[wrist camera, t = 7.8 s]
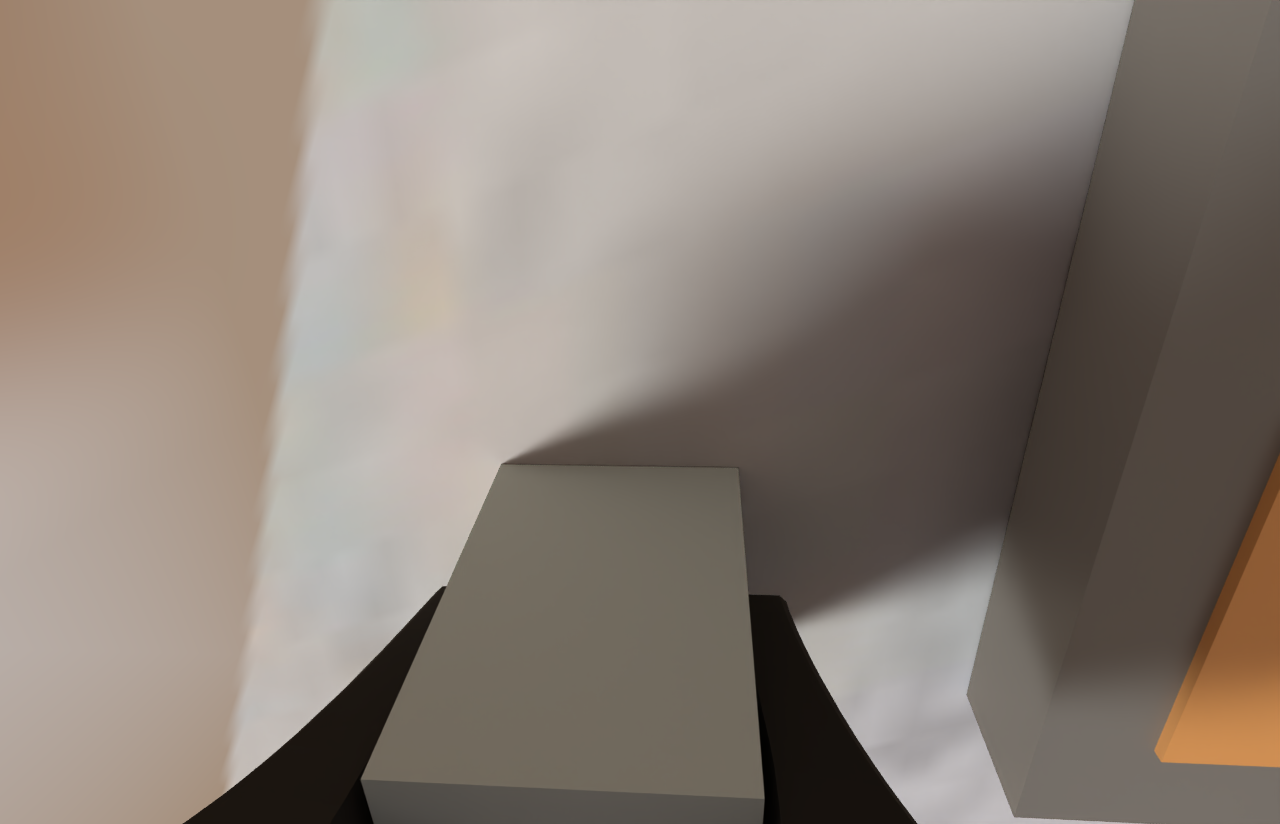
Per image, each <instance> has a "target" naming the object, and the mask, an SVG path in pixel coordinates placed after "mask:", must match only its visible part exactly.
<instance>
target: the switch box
mask: <svg viewBox="0 0 1280 824" xmlns="http://www.w3.org/2000/svg"><path fill="white" fill-rule="evenodd" d="M967 697H968V700H969V702H970V705H971V707H972V710H973V713H974V715H975V718H976V720H977V723H978V725H979V728H980V731H981V733H982V736H983V738H984V741H985V743H986V746H987V749H988V751H989V754H990V756H991V759H992V761H993V764H994V767H995V769H996V772H997V774H998V777H999V779H1000V782H1001V785H1002V787H1003V790H1004V792H1005V795H1006V798H1007V800H1008V803H1009V805H1010V808H1011V810H1012V813H1013V816H1014V817H1022V818H1042V819H1063V820H1084V821H1104V822H1125V823H1145V824H1280V0H1134V5H1133V9H1132V13H1131V17H1130V21H1129V25H1128V29H1127V34H1126V38H1125V42H1124V46H1123V50H1122V54H1121V58H1120V62H1119V67H1118V71H1117V75H1116V79H1115V83H1114V87H1113V91H1112V96H1111V100H1110V104H1109V108H1108V112H1107V116H1106V120H1105V125H1104V129H1103V133H1102V137H1101V141H1100V145H1099V149H1098V153H1097V158H1096V162H1095V166H1094V170H1093V174H1092V178H1091V182H1090V187H1089V191H1088V195H1087V199H1086V203H1085V207H1084V211H1083V216H1082V220H1081V224H1080V228H1079V232H1078V236H1077V240H1076V244H1075V249H1074V253H1073V257H1072V261H1071V265H1070V269H1069V273H1068V278H1067V282H1066V286H1065V290H1064V294H1063V298H1062V302H1061V307H1060V311H1059V315H1058V319H1057V323H1056V327H1055V331H1054V336H1053V340H1052V344H1051V348H1050V352H1049V356H1048V360H1047V364H1046V369H1045V373H1044V377H1043V381H1042V385H1041V389H1040V393H1039V398H1038V402H1037V406H1036V410H1035V414H1034V418H1033V422H1032V427H1031V431H1030V435H1029V439H1028V443H1027V447H1026V451H1025V455H1024V460H1023V464H1022V468H1021V472H1020V476H1019V480H1018V484H1017V489H1016V493H1015V497H1014V501H1013V505H1012V509H1011V513H1010V518H1009V522H1008V526H1007V530H1006V534H1005V538H1004V542H1003V546H1002V551H1001V555H1000V559H999V563H998V567H997V571H996V575H995V580H994V584H993V588H992V592H991V596H990V600H989V604H988V609H987V613H986V617H985V621H984V625H983V629H982V633H981V638H980V642H979V646H978V650H977V654H976V658H975V662H974V666H973V671H972V675H971V679H970V683H969V687H968V691H967Z"/></svg>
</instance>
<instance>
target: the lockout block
mask: <svg viewBox="0 0 1280 824" xmlns="http://www.w3.org/2000/svg"><path fill="white" fill-rule="evenodd" d="M361 783H362V786H363V789H364V793H365V796H366V799H367V803H368V806H369V809H370V813H371V816H372V819H373V823H374V824H763V813H764V800H765V798H764V785H763V773H762V760H761V747H760V735H759V722H758V710H757V697H756V685H755V672H754V659H753V647H752V634H751V622H750V609H749V597H748V584H747V571H746V559H745V546H744V534H743V521H742V509H741V496H740V483H739V471H738V468H718V467H650V466H583V465H515V464H501V466H500V468H499V470H498V472H497V475H496V477H495V479H494V481H493V484H492V486H491V488H490V490H489V493H488V495H487V497H486V499H485V502H484V504H483V506H482V508H481V511H480V513H479V515H478V517H477V520H476V522H475V524H474V526H473V528H472V531H471V533H470V535H469V537H468V540H467V542H466V544H465V546H464V549H463V551H462V553H461V555H460V558H459V560H458V562H457V564H456V567H455V569H454V571H453V573H452V576H451V578H450V580H449V582H448V585H447V587H446V589H445V591H444V594H443V596H442V598H441V600H440V602H439V605H438V607H437V609H436V611H435V614H434V616H433V618H432V620H431V623H430V625H429V627H428V629H427V632H426V634H425V636H424V638H423V641H422V643H421V645H420V647H419V650H418V652H417V654H416V656H415V659H414V661H413V663H412V665H411V668H410V670H409V672H408V674H407V676H406V679H405V681H404V683H403V685H402V688H401V690H400V692H399V694H398V697H397V699H396V701H395V703H394V706H393V708H392V710H391V712H390V715H389V717H388V719H387V721H386V724H385V726H384V728H383V730H382V733H381V735H380V737H379V739H378V742H377V744H376V746H375V748H374V750H373V753H372V755H371V757H370V759H369V762H368V764H367V766H366V768H365V771H364V773H363V775H362V777H361Z"/></svg>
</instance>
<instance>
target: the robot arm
mask: <svg viewBox="0 0 1280 824" xmlns="http://www.w3.org/2000/svg"><path fill="white" fill-rule="evenodd" d="M446 587H447V586H443V587H441V588H440V589H439V590H438V591H437V592H436V593H435V594H434V595H433V596H432V597H431V598H430V600H429V601H428V602H427V603H426V604H425V605H424V606H423V607H422V608H421V609H420V610H419V611H418V612H417V614H416V615H415V616H414V617H413V618H412V619H411V620H410V621H409V622H408V623H407V624H406V625H405V627H404V628H403V629H402V630H401V631H400V632H399V633H398V634H397V635H396V636H395V637H394V638H393V639H392V640H391V642H390V643H389V644H388V645H387V646H386V647H385V648H384V649H383V650H382V651H381V652H380V653H379V654H378V655H377V656H376V657H375V658H374V659H373V660H372V661H371V662H370V663H369V664H368V665H367V666H366V667H365V668H364V669H363V670H362V671H361V673H360V674H359V675H358V676H357V677H356V678H355V679H354V680H353V681H352V682H351V683H350V684H349V685H348V686H347V687H346V688H345V689H344V690H343V691H342V692H341V693H340V694H339V695H338V696H336V697H335V698H334V699H333V700H332V701H331V702H330V703H329V704H328V705H327V706H326V707H325V708H324V709H323V710H321V711H320V712H319V713H318V714H317V715H316V716H315V717H314V718H313V719H312V720H311V721H310V722H309V723H308V724H307V725H305V726H304V727H303V728H302V729H301V730H300V731H299V732H298V733H297V734H296V735H295V736H293V737H292V738H291V739H290V740H289V741H288V742H287V743H285V744H284V745H283V746H282V747H281V748H280V749H279V750H277V751H276V752H275V753H274V754H273V755H272V756H270V757H269V758H268V759H267V760H266V761H265V762H263V763H262V764H261V765H260V766H258V767H257V768H256V769H255V770H254V771H252V772H251V773H250V774H249V775H247V776H246V777H245V778H244V779H242V780H241V781H240V782H239V783H238V784H236V785H235V786H234V787H232V788H231V789H230V790H229V791H227V792H226V793H225V794H223V795H222V796H221V797H219V798H218V799H217V800H215V801H214V802H213V803H211V804H210V805H208V806H207V807H206V808H204V809H203V810H201V811H200V812H199V813H197V814H196V815H195V816H193V817H192V818H190V819H189V820H188V821H186V822H185V823H183V824H374V823H373V819H372V816H371V813H370V809H369V806H368V803H367V799H366V796H365V793H364V789H363V786H362V783H361V777H362V775H363V773H364V771H365V768H366V766H367V764H368V762H369V759H370V757H371V755H372V753H373V750H374V748H375V746H376V744H377V742H378V739H379V737H380V735H381V733H382V730H383V728H384V726H385V724H386V721H387V719H388V717H389V715H390V712H391V710H392V708H393V706H394V703H395V701H396V699H397V697H398V694H399V692H400V690H401V688H402V685H403V683H404V681H405V679H406V676H407V674H408V672H409V670H410V668H411V665H412V663H413V661H414V659H415V656H416V654H417V652H418V650H419V647H420V645H421V643H422V641H423V638H424V636H425V634H426V632H427V629H428V627H429V625H430V623H431V620H432V618H433V616H434V614H435V611H436V609H437V607H438V605H439V602H440V600H441V598H442V596H443V594H444V591H445V589H446ZM748 597H749V609H750V622H751V634H752V647H753V659H754V672H755V685H756V697H757V710H758V722H759V735H760V747H761V760H762V773H763V785H764V798H765V800H764V813H763V824H917V823H916V821H915V820H914V819H913V817H912V816H911V815H910V813H909V812H908V811H907V809H906V808H905V807H904V805H903V804H902V803H901V802H900V800H899V799H898V798H897V796H896V795H895V793H894V792H893V791H892V789H891V788H890V787H889V785H888V784H887V782H886V781H885V780H884V778H883V777H882V775H881V774H880V772H879V771H878V769H877V768H876V767H875V765H874V764H873V762H872V761H871V759H870V758H869V756H868V755H867V753H866V751H865V750H864V748H863V747H862V745H861V744H860V742H859V741H858V739H857V738H856V736H855V735H854V733H853V731H852V730H851V728H850V727H849V725H848V723H847V722H846V720H845V719H844V717H843V715H842V714H841V712H840V710H839V708H838V707H837V705H836V703H835V701H834V700H833V698H832V696H831V695H830V693H829V691H828V689H827V688H826V686H825V684H824V682H823V681H822V679H821V677H820V675H819V673H818V671H817V669H816V668H815V666H814V664H813V662H812V660H811V658H810V656H809V654H808V652H807V650H806V648H805V646H804V644H803V642H802V639H801V637H800V635H799V633H798V631H797V628H796V626H795V624H794V621H793V619H792V616H791V614H790V611H789V609H788V606H787V603H786V601H785V600H784V599H783V598H782V597H781V596H776V595H748Z"/></svg>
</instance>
